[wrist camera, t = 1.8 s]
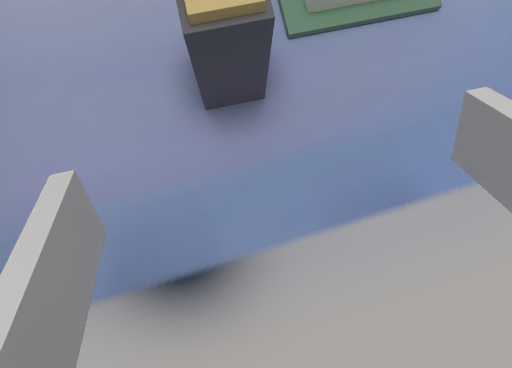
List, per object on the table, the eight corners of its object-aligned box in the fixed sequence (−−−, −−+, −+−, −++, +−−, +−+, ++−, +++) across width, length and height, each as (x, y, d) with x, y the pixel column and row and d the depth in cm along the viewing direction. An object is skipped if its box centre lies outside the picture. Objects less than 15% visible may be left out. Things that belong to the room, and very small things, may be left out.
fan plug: (205, 109, 27) (180, 24, 17) (192, 44, 28) (159, -76, 18) (264, 97, 28) (276, 7, 17) (249, 34, 29) (251, -92, 18)
